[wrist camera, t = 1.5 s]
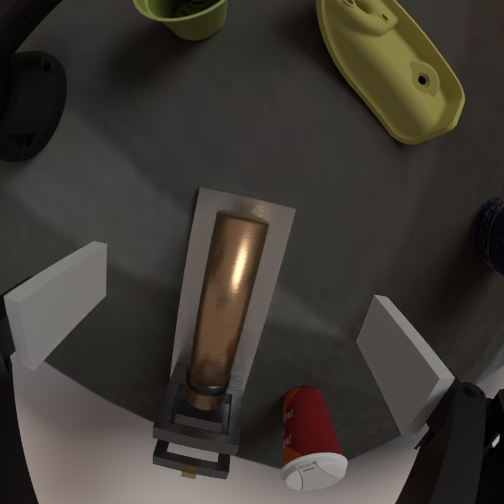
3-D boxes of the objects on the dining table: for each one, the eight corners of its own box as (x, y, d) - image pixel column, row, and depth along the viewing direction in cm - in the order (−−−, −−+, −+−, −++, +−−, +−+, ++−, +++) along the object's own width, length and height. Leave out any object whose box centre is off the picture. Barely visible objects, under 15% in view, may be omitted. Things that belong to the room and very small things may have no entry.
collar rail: (201, 186, 31) (163, 202, 18) (294, 207, 31) (322, 238, 18) (168, 405, 39) (146, 475, 27) (233, 420, 40) (227, 492, 27)
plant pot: (241, -14, 24) (237, -56, 15) (242, 50, 26) (237, 14, 18) (161, -4, 24) (138, -41, 15) (157, 59, 26) (127, 30, 18)
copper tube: (219, 207, 27) (212, 215, 22) (269, 218, 27) (271, 229, 22) (188, 378, 32) (180, 405, 28) (226, 387, 32) (222, 414, 28)
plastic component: (467, 94, 24) (452, 134, 22) (425, 110, 31) (401, 150, 29) (357, -35, 19) (314, -26, 17) (324, -4, 26) (279, 16, 24)
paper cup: (267, 391, 38) (270, 474, 25) (319, 372, 37) (341, 453, 24) (287, 422, 40) (295, 498, 27) (335, 406, 39) (355, 480, 26)
